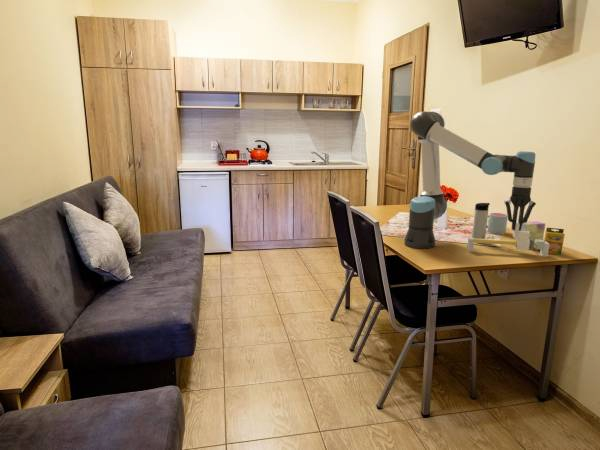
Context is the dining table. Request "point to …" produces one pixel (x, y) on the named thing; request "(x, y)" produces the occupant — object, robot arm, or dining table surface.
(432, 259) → the dining table surface
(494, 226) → the mug
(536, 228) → the box
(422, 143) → the robot arm
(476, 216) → the travel mug
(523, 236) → the sleeve
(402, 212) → the dining table surface
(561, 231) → the crayon box
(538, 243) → the rail
